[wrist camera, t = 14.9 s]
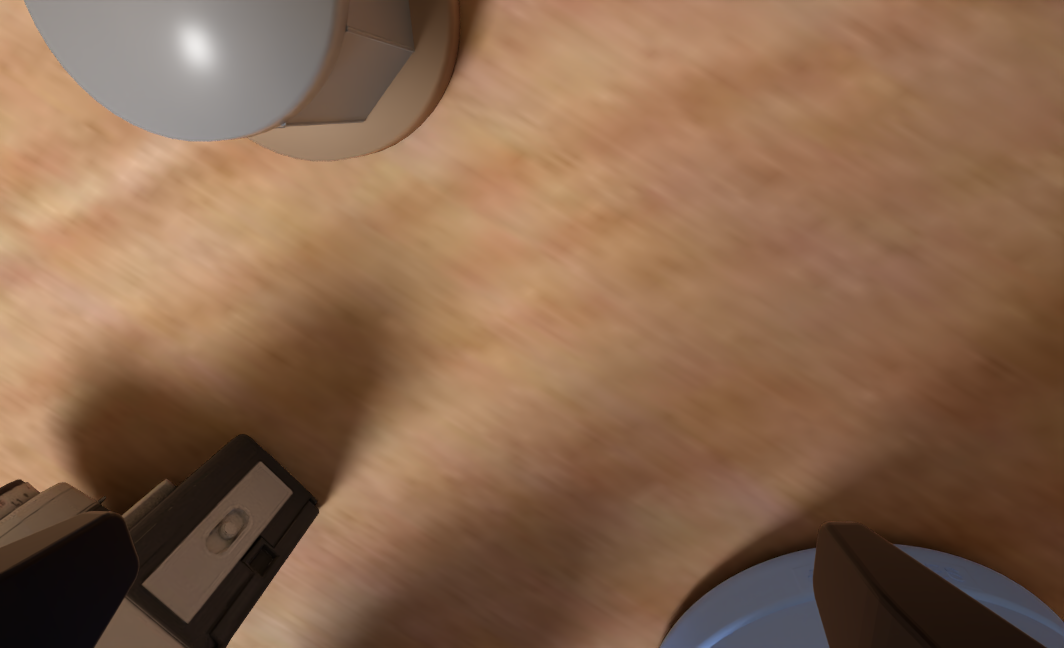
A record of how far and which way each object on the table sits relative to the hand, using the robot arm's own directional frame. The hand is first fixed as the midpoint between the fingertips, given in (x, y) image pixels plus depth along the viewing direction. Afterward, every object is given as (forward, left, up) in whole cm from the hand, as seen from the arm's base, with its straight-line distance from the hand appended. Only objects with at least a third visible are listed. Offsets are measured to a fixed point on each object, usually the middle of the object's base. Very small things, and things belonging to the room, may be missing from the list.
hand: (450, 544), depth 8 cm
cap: (+8, +5, -10) cm, 14 cm away
